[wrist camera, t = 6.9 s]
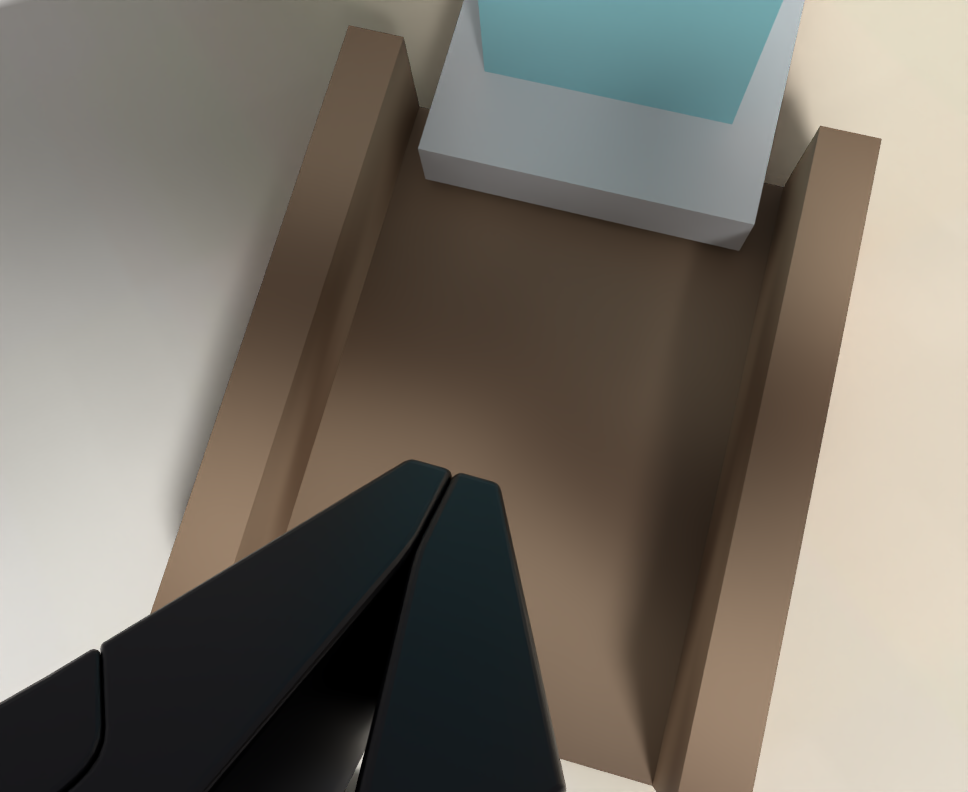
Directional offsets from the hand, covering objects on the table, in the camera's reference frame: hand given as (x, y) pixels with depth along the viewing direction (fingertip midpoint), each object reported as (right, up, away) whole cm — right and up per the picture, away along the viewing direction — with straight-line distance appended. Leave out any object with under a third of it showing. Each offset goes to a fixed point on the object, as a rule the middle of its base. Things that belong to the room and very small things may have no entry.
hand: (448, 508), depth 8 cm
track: (+1, +1, +9) cm, 9 cm away
